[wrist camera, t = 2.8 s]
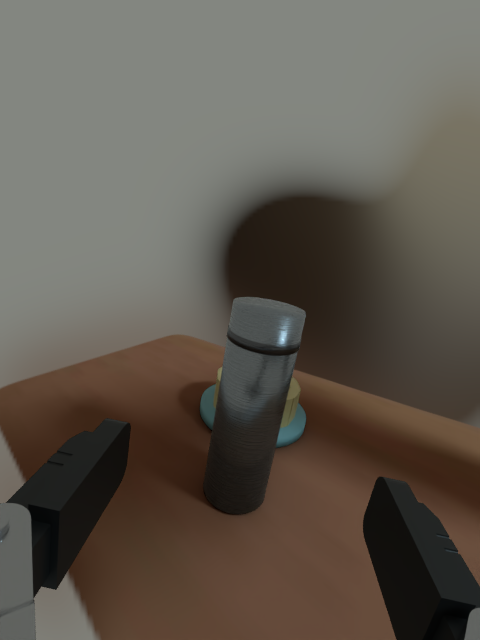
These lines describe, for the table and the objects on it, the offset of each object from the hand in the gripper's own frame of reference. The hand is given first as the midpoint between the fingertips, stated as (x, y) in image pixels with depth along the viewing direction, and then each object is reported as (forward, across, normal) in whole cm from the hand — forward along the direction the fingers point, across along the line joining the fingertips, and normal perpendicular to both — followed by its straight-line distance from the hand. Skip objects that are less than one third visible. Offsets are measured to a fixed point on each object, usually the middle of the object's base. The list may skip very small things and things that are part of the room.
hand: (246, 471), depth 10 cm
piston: (+12, 0, +11) cm, 16 cm away
